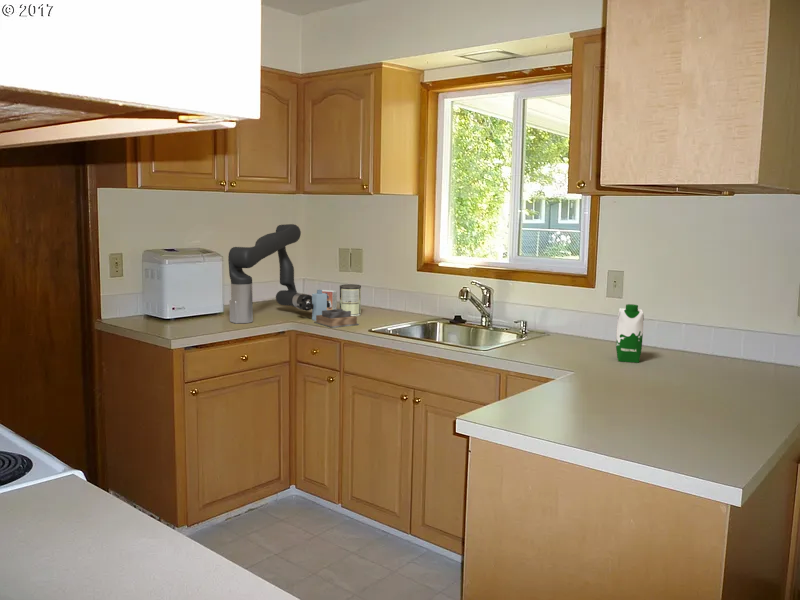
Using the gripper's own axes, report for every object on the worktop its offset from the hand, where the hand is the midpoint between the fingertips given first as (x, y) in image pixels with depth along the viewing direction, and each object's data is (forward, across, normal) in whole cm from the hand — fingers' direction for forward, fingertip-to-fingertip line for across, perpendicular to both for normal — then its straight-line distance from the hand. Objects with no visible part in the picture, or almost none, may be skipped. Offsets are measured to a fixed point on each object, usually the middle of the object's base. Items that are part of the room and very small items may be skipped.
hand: (321, 306), depth 315 cm
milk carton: (+128, +50, +7) cm, 137 cm away
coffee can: (-6, +20, +7) cm, 22 cm away
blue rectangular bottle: (-1, 0, +7) cm, 7 cm away
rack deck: (+12, +1, +6) cm, 13 cm away
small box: (-19, +15, +7) cm, 25 cm away
